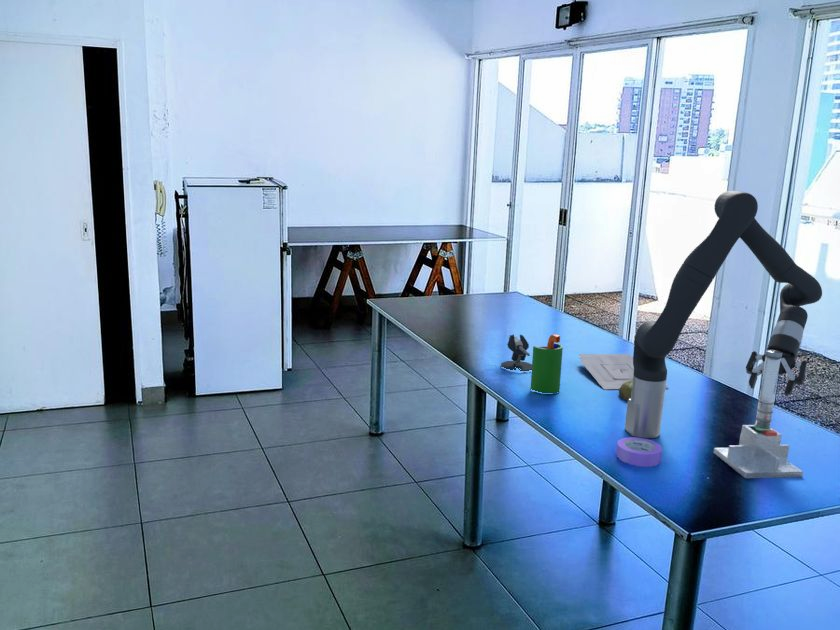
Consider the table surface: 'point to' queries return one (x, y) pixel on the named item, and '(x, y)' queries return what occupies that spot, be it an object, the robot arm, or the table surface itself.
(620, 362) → the papers
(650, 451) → the masking tape
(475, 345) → the table surface
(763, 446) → the jack base
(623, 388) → the weight
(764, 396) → the cylinder
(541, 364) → the green pen holder
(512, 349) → the gun turret
